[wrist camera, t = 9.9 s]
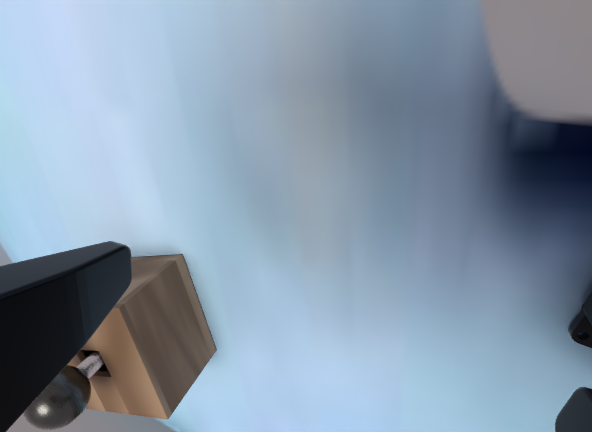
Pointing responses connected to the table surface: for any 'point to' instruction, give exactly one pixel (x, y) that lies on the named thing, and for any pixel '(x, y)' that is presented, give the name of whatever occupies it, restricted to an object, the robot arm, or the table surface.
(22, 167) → the table surface
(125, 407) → the wooden box
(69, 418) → the black ball knob
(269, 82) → the table surface
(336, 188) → the table surface
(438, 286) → the table surface
